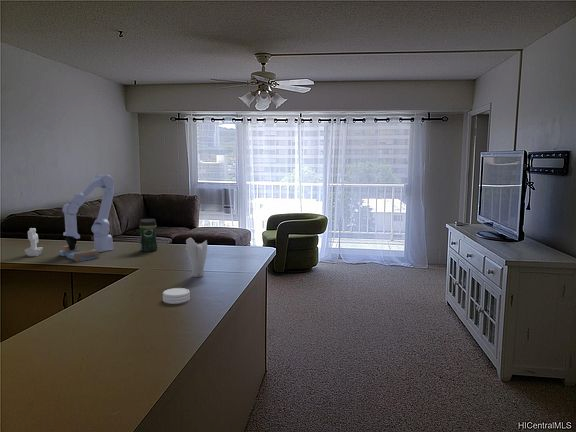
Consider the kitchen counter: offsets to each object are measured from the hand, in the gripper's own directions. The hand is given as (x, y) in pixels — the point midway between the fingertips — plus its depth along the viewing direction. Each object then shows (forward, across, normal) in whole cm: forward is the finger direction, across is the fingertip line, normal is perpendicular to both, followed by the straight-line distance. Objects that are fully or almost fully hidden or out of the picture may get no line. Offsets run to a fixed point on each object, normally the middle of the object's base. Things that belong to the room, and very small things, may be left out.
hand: (72, 250), depth 240 cm
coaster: (+3, +106, -14) cm, 107 cm away
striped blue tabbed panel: (+3, +10, 0) cm, 10 cm away
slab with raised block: (+3, -4, 0) cm, 5 cm away
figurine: (+3, -16, -13) cm, 21 cm away
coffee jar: (+3, +20, +35) cm, 40 cm away
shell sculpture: (+3, +86, +15) cm, 87 cm away
